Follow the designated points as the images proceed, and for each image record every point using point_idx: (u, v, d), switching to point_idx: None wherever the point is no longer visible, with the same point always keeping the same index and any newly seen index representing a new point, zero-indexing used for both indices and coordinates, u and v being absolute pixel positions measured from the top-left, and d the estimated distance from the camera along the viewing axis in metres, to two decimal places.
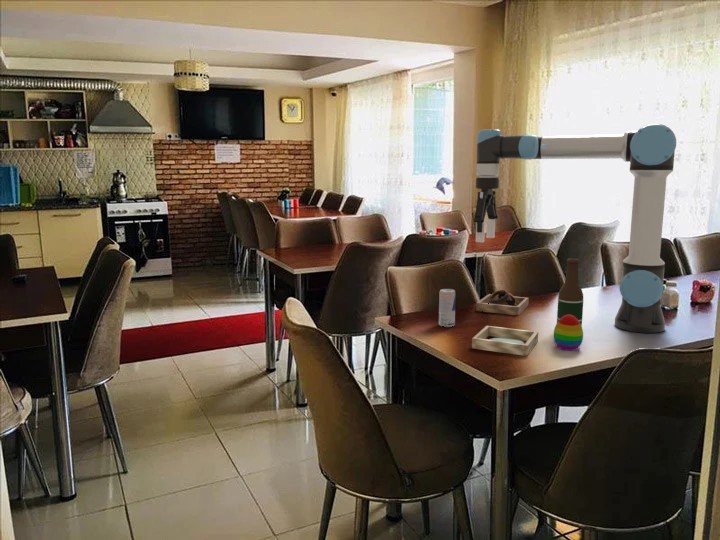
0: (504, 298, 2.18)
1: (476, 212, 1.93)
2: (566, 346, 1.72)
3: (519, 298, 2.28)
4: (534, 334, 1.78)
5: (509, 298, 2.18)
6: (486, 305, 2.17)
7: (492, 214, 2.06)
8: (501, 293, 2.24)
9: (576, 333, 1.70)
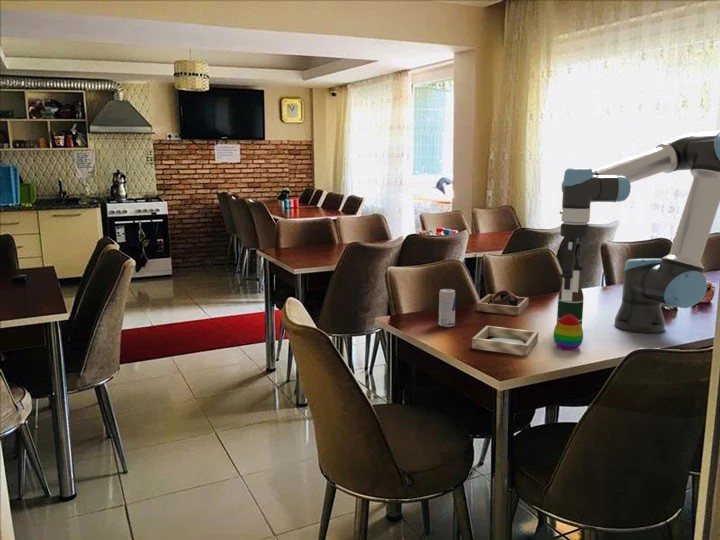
0: (507, 298, 2.17)
1: (564, 266, 1.63)
2: (566, 346, 1.72)
3: (519, 298, 2.28)
4: (534, 334, 1.78)
5: (512, 298, 2.18)
6: (486, 305, 2.17)
7: (576, 265, 1.76)
8: (503, 293, 2.24)
9: (576, 333, 1.70)
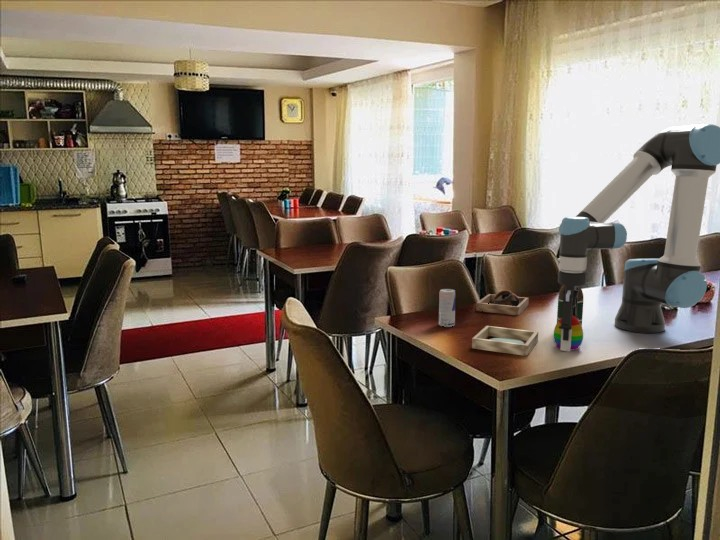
0: (508, 298, 2.17)
1: (562, 319, 1.67)
2: None
3: (519, 298, 2.28)
4: (534, 334, 1.78)
5: (513, 298, 2.18)
6: (486, 305, 2.17)
7: (573, 315, 1.77)
8: (505, 293, 2.23)
9: (576, 333, 1.70)
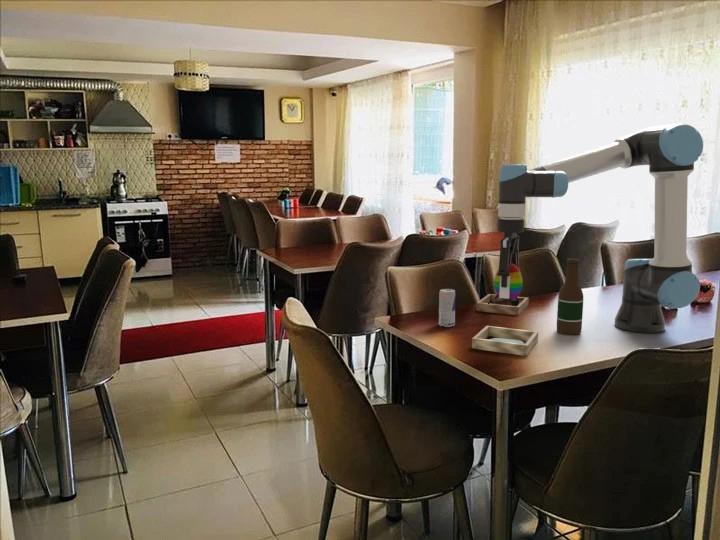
0: None
1: (500, 265, 1.67)
2: None
3: (519, 298, 2.28)
4: (534, 334, 1.78)
5: (513, 298, 2.18)
6: (486, 305, 2.17)
7: (514, 264, 1.77)
8: None
9: (515, 280, 1.70)
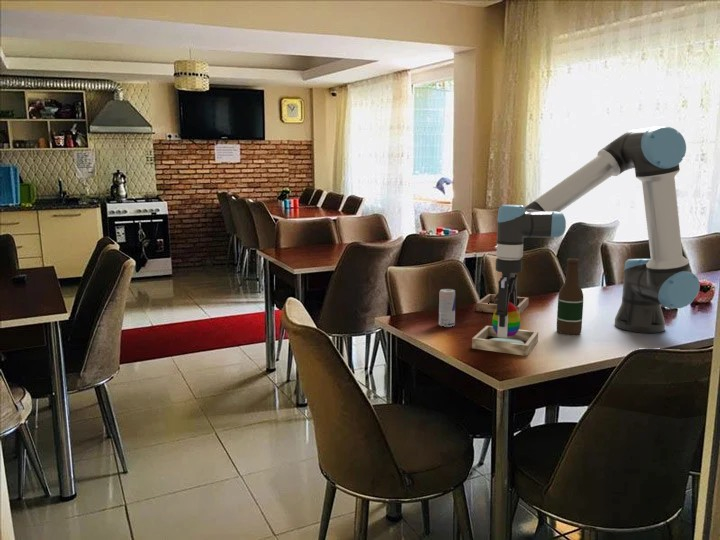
0: None
1: (498, 305, 1.69)
2: None
3: (519, 298, 2.28)
4: (534, 334, 1.78)
5: None
6: (486, 305, 2.17)
7: (512, 302, 1.79)
8: None
9: (512, 319, 1.72)
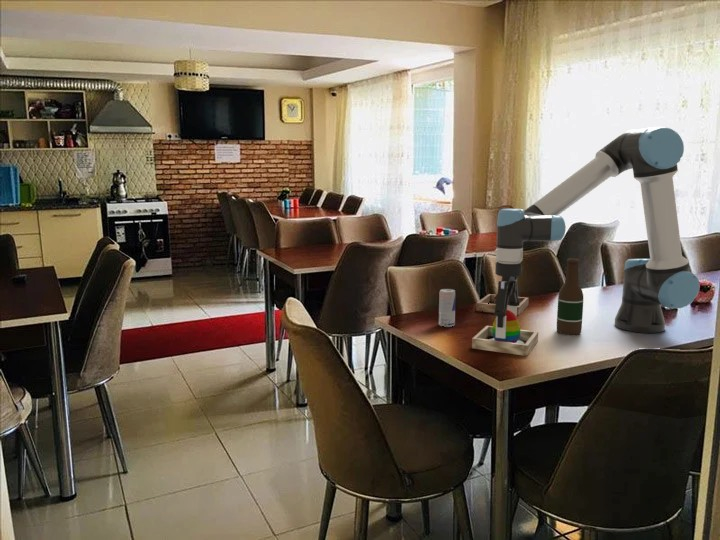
0: None
1: (497, 305, 1.68)
2: (503, 341, 1.74)
3: (519, 298, 2.28)
4: (534, 334, 1.78)
5: None
6: (486, 305, 2.17)
7: (513, 301, 1.81)
8: None
9: (512, 328, 1.73)
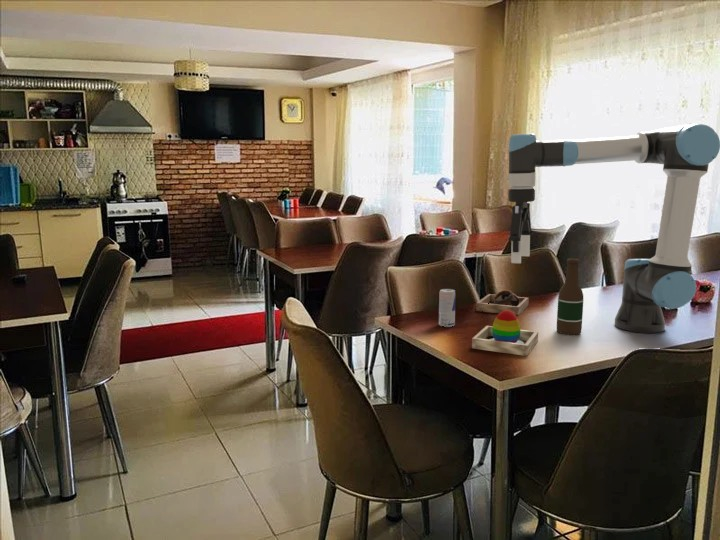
0: (509, 298, 2.17)
1: (512, 229, 1.68)
2: (503, 341, 1.74)
3: (519, 298, 2.28)
4: (534, 334, 1.78)
5: (514, 298, 2.18)
6: (486, 305, 2.17)
7: (526, 229, 1.81)
8: (505, 293, 2.23)
9: (512, 328, 1.73)
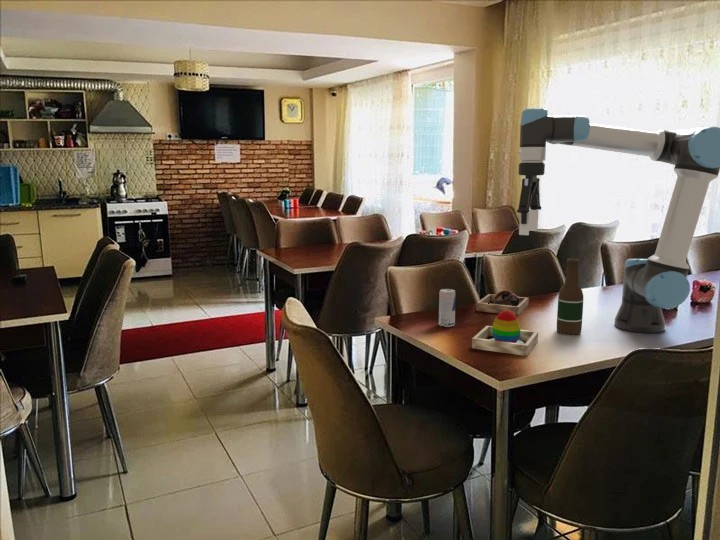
0: (509, 298, 2.17)
1: (520, 201, 1.71)
2: (503, 341, 1.74)
3: (519, 298, 2.28)
4: (534, 334, 1.78)
5: (513, 298, 2.18)
6: (486, 305, 2.17)
7: (535, 204, 1.84)
8: (505, 293, 2.24)
9: (512, 328, 1.73)
